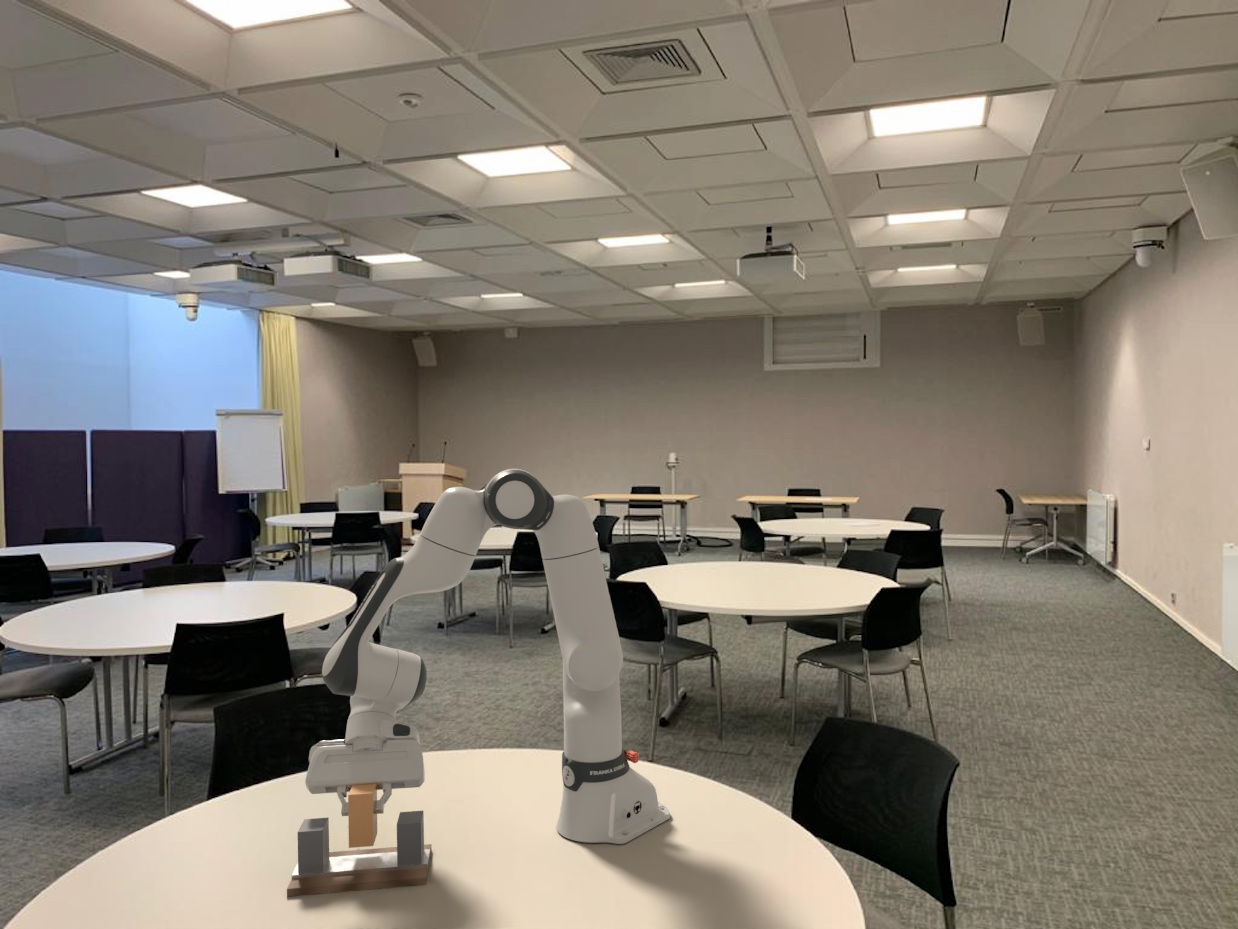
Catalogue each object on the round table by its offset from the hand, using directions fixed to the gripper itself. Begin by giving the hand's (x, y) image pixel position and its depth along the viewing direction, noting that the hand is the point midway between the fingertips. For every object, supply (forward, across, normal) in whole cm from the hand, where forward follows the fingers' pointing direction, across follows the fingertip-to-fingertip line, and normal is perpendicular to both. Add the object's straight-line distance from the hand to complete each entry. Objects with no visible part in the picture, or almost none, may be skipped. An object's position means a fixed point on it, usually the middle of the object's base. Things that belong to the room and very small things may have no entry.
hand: (362, 813), depth 144 cm
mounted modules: (+6, 0, +5) cm, 8 cm away
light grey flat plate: (+7, 0, +5) cm, 8 cm away
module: (+3, 0, +4) cm, 5 cm away
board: (+8, 0, +6) cm, 10 cm away
